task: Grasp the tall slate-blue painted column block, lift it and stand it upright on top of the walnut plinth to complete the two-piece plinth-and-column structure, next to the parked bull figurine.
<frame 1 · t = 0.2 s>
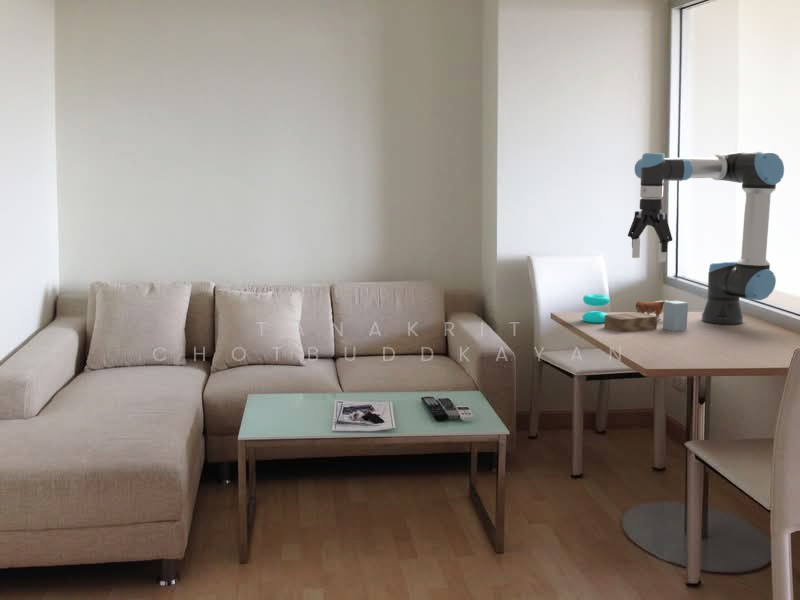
hand: (648, 259, 334), 27 cm above the table, fingers open, 13 cm apart
bull figurine: (652, 320, 373), on the table
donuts: (595, 322, 369), on the table
column: (674, 328, 354), on the table
plinth: (630, 329, 356), on the table
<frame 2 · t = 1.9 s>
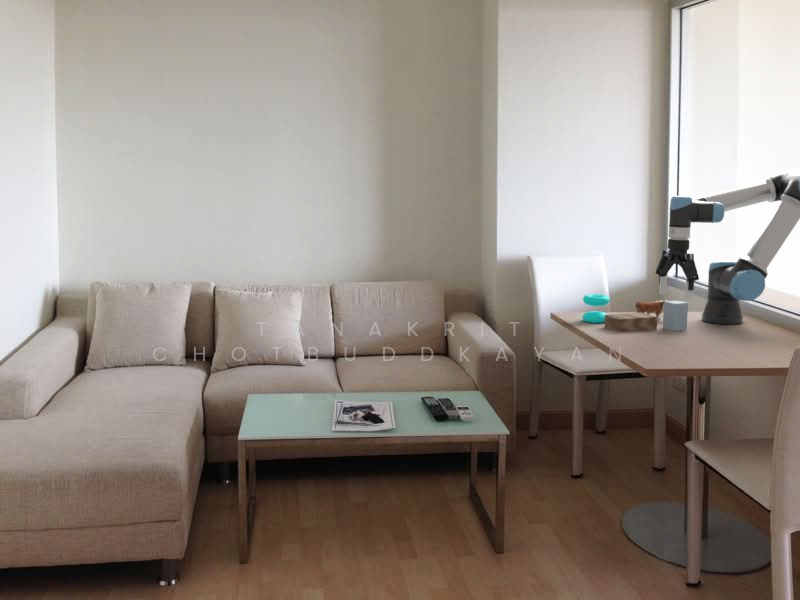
hand: (675, 296, 353), 12 cm above the table, fingers open, 13 cm apart
nothing on the table moved.
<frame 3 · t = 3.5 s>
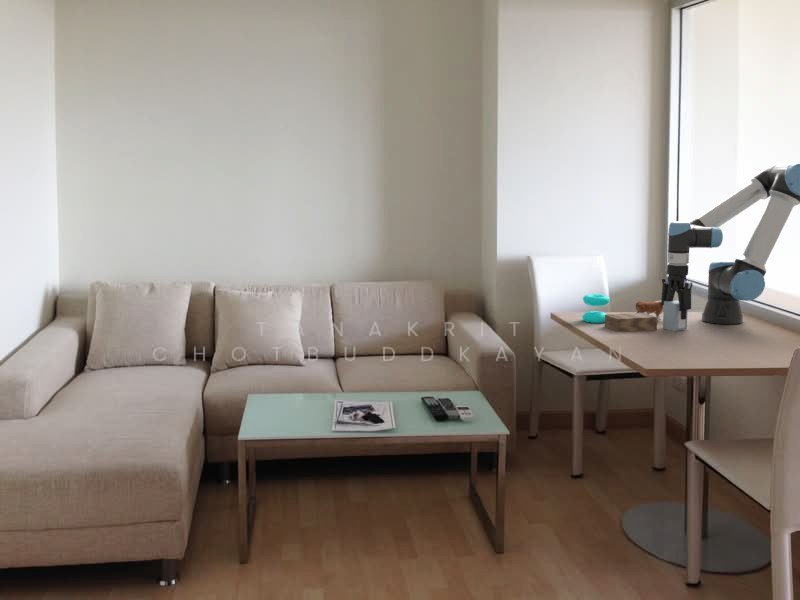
hand: (674, 326, 354), 1 cm above the table, fingers closed on column, 6 cm apart
column: (674, 328, 354), on the table, touching gripper
everything else where it was.
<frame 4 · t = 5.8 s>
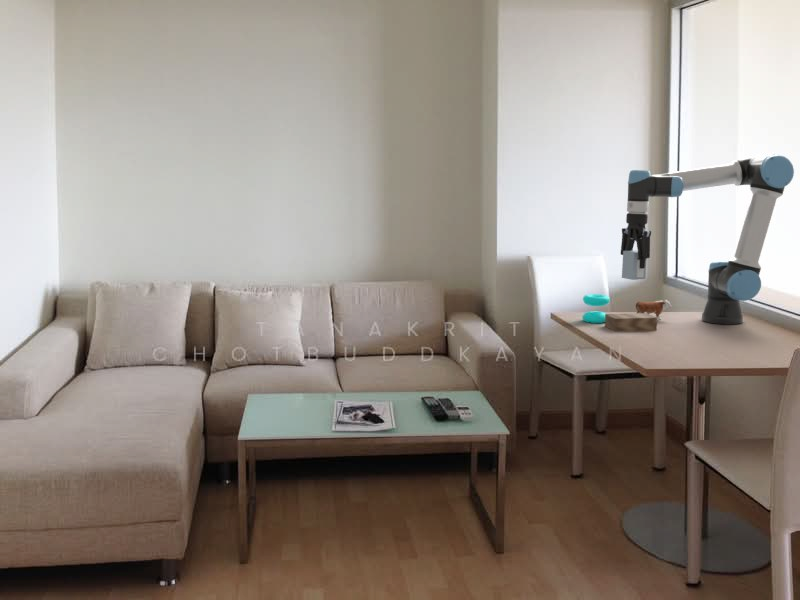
hand: (633, 275, 352), 19 cm above the table, fingers closed on column, 6 cm apart
column: (633, 278, 353), point 19 cm above the table, touching gripper
when the fingers open (7 cm above the table, at t = 8.4 s): column drops 1 cm, point 5 cm above the table.
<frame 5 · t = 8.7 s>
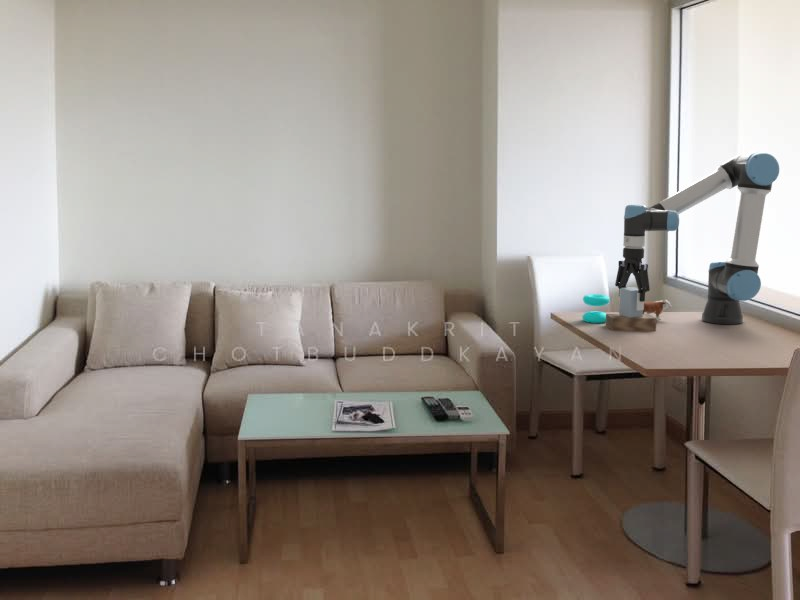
hand: (631, 308, 354), 8 cm above the table, fingers open, 9 cm apart
column: (630, 315, 355), point 5 cm above the table
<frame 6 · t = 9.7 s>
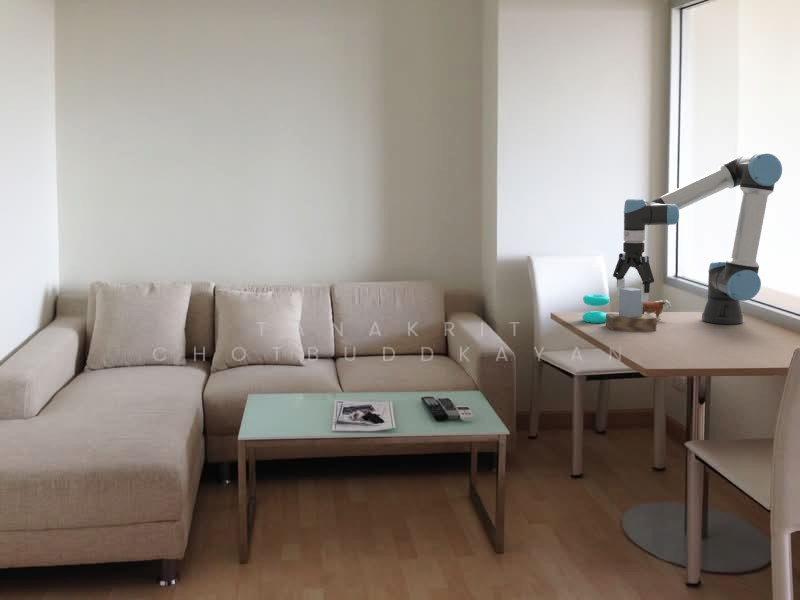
hand: (632, 299, 354), 11 cm above the table, fingers open, 13 cm apart
nothing on the table moved.
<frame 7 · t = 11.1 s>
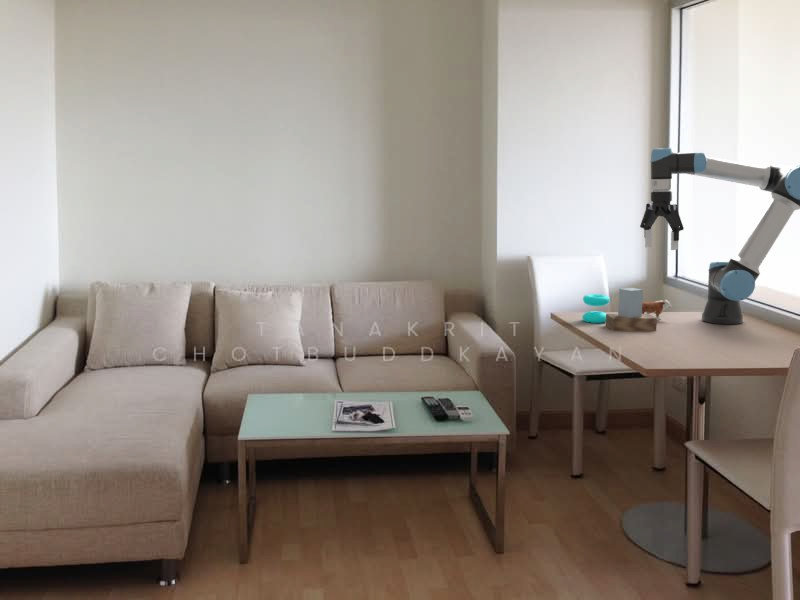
hand: (661, 248, 355), 29 cm above the table, fingers open, 13 cm apart
column: (629, 316, 355), point 5 cm above the table, touching plinth
plinth: (630, 329, 356), on the table, touching column
everything else where it was.
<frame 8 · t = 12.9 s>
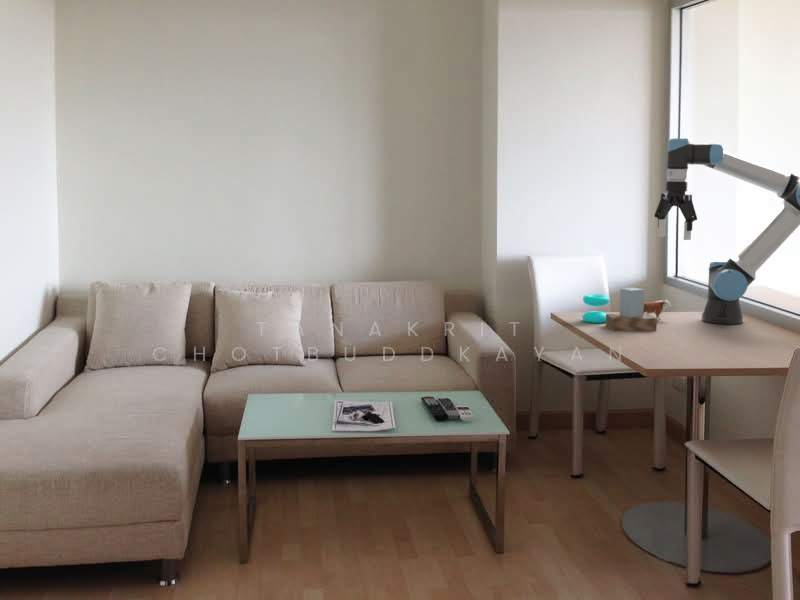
hand: (674, 238, 357), 33 cm above the table, fingers open, 13 cm apart
column: (631, 315, 355), point 5 cm above the table
plinth: (630, 329, 355), on the table
everything else where it was.
at the end: column inside the target area on the plinth (0.1 cm from its centre), point 5.1 cm above the plinth's base; column tilted 1°; the gripper is holding nothing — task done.
